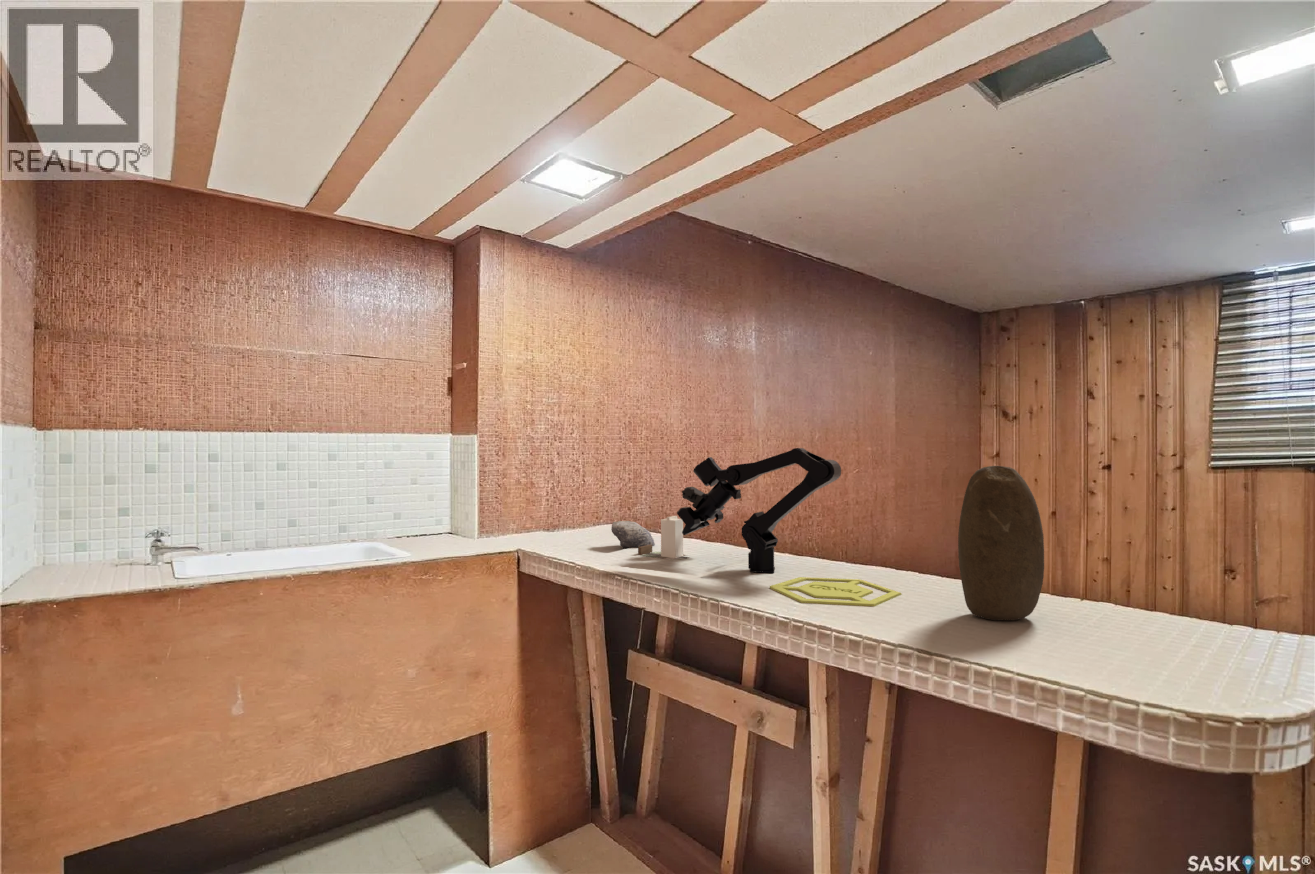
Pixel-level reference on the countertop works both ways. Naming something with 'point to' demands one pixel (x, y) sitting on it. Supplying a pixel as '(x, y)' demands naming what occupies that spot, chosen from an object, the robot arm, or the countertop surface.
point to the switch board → (648, 551)
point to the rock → (631, 534)
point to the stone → (1000, 545)
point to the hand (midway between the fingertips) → (683, 533)
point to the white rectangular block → (671, 537)
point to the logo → (834, 591)
